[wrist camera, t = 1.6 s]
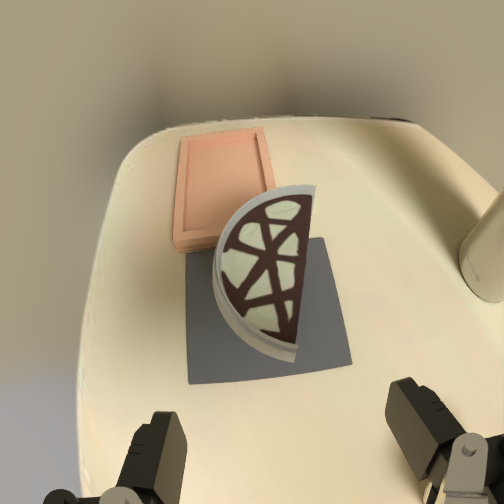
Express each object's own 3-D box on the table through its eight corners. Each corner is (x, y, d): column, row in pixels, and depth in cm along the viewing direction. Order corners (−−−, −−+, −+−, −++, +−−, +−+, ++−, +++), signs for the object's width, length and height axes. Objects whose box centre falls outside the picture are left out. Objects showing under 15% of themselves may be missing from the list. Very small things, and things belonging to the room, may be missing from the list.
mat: (322, 239, 30) (323, 237, 30) (351, 364, 23) (352, 364, 23) (186, 254, 30) (186, 253, 30) (189, 384, 23) (188, 384, 23)
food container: (242, 244, 30) (232, 171, 22) (304, 252, 29) (316, 180, 21) (213, 366, 24) (181, 335, 15) (286, 378, 23) (296, 356, 14)
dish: (263, 138, 39) (262, 127, 38) (283, 239, 30) (284, 227, 29) (184, 148, 39) (181, 137, 38) (177, 251, 30) (172, 241, 29)
